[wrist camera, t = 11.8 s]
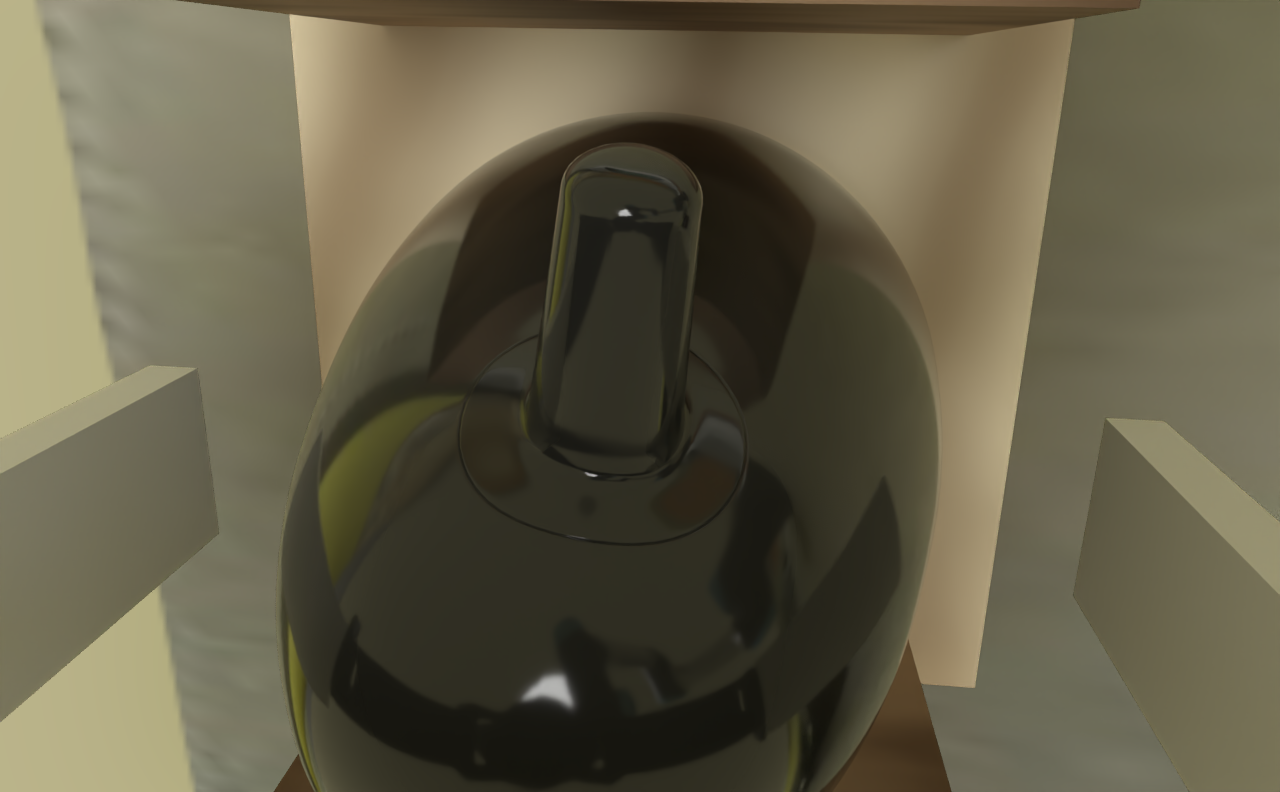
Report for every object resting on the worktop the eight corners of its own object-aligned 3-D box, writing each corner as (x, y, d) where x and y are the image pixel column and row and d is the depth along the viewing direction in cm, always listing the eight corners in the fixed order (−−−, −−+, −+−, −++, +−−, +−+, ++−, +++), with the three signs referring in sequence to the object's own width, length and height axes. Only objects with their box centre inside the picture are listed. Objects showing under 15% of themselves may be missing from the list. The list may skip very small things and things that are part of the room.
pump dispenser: (957, 142, 20) (1475, 323, 6) (838, 582, 23) (972, 1386, 9) (474, 53, 21) (-170, 13, 6) (425, 496, 24) (-63, 1134, 10)
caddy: (1068, -67, 20) (1374, -196, 10) (964, 660, 25) (1099, 1025, 16) (305, -72, 21) (-60, -191, 12) (361, 615, 27) (142, 924, 17)
